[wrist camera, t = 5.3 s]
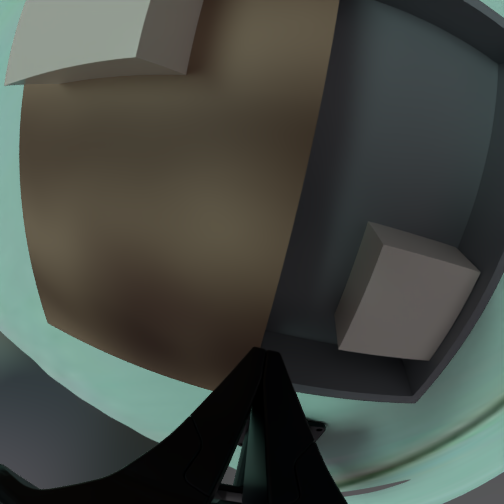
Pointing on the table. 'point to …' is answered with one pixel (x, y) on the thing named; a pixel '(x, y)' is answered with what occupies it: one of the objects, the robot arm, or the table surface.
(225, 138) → the walnut plate
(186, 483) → the robot arm
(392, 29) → the box
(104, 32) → the tile
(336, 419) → the table surface
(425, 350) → the tile
